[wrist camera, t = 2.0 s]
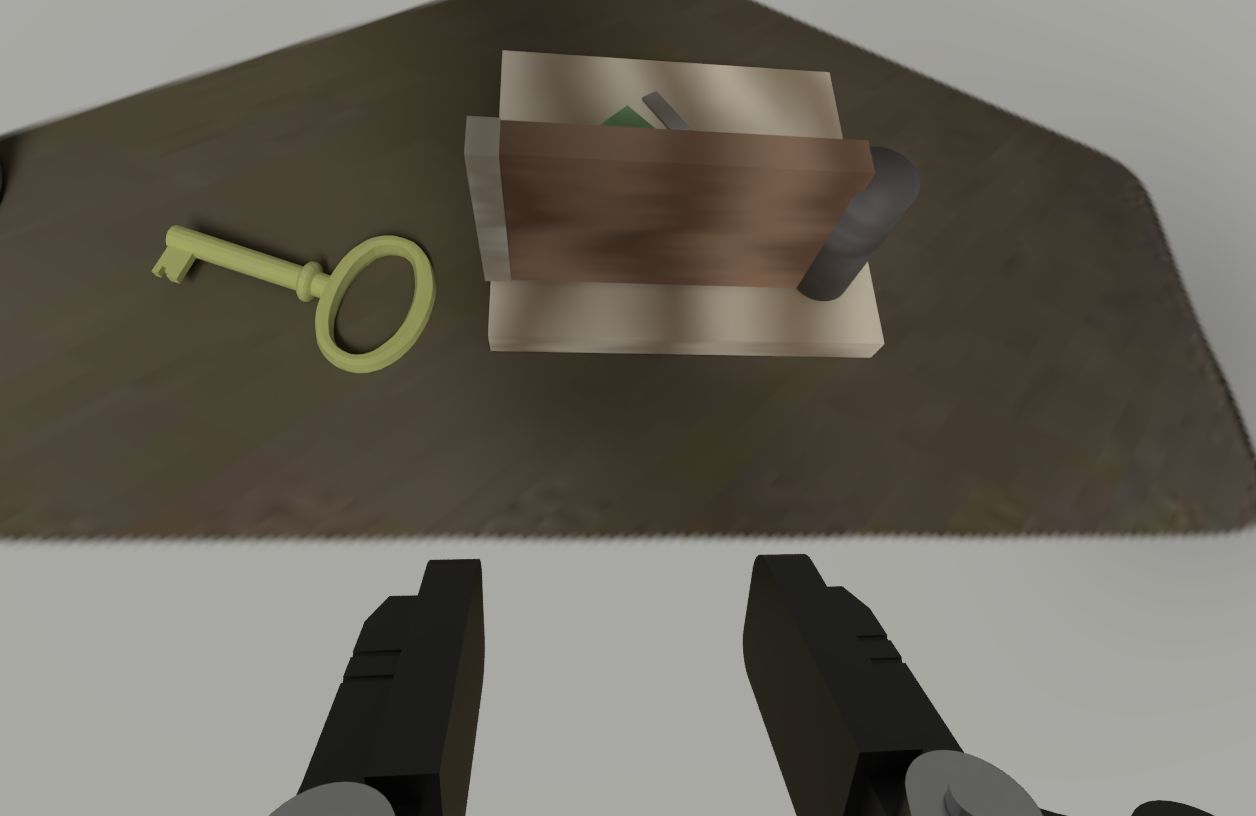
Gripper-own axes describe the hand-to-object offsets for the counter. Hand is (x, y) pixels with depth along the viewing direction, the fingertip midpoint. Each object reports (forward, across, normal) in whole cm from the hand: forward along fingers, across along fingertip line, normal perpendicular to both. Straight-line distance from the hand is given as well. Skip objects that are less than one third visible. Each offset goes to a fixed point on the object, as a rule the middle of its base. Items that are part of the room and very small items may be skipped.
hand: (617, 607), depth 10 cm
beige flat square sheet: (+29, -6, -3) cm, 29 cm away
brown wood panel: (+23, -5, -1) cm, 24 cm away
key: (+25, +12, +2) cm, 28 cm away
